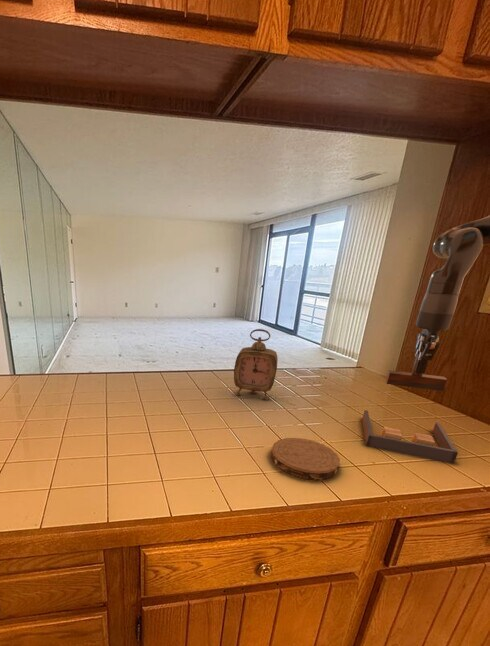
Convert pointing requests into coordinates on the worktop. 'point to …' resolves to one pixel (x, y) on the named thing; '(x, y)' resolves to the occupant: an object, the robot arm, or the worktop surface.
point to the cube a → (392, 433)
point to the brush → (416, 379)
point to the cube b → (423, 439)
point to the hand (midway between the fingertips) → (418, 371)
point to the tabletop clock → (255, 367)
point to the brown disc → (305, 459)
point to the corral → (412, 443)
